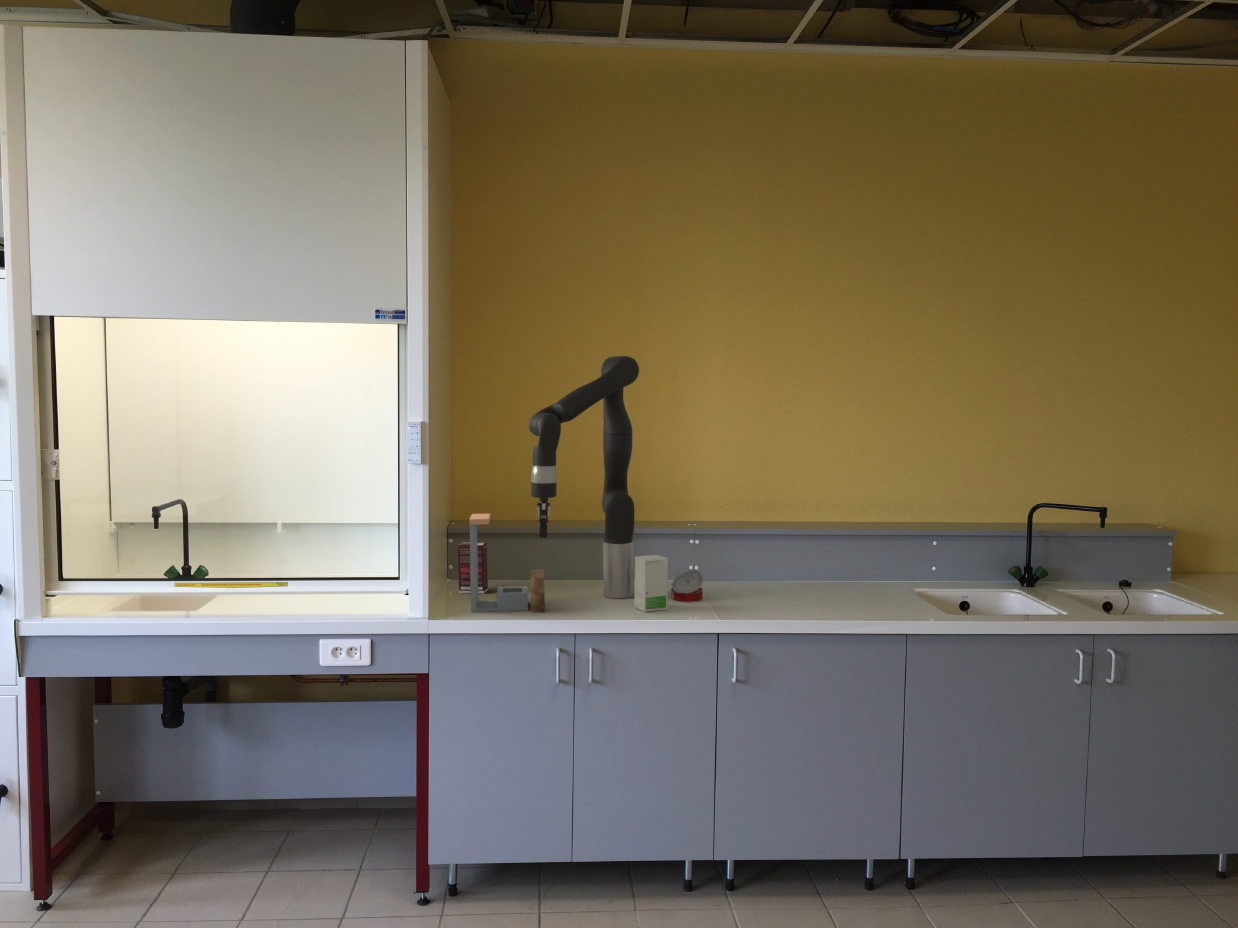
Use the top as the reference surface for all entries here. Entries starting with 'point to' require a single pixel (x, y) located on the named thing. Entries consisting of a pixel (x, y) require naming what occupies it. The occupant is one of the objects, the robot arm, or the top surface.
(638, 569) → the skincare box
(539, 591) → the peg
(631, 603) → the top surface
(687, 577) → the canned food
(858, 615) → the top surface
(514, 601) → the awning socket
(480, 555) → the supplement box
